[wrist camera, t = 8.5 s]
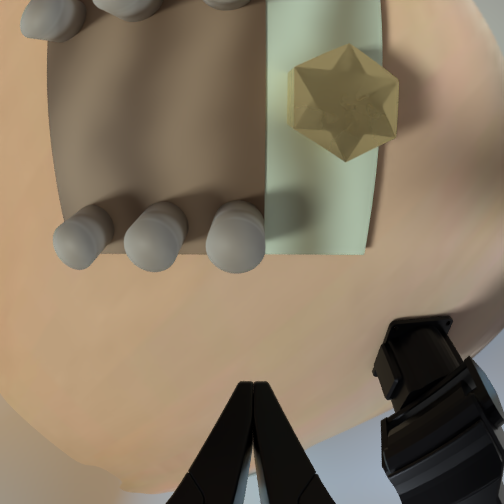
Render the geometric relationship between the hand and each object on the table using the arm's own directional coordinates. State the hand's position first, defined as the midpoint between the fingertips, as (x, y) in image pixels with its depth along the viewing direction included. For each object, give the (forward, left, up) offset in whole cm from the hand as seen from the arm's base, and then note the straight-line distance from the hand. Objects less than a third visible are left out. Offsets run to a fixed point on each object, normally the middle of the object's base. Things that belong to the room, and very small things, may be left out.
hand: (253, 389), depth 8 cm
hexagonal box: (-4, -8, -11) cm, 14 cm away
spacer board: (+3, -7, -12) cm, 14 cm away
